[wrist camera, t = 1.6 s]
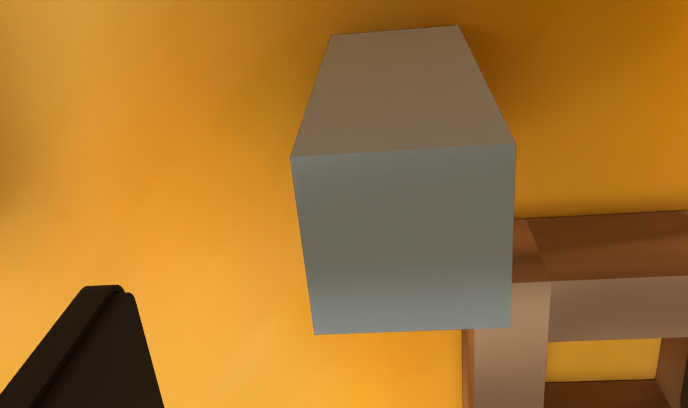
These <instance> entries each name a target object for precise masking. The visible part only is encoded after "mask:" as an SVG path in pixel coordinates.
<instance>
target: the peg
mask: <svg viewBox="0 0 688 408" xmlns="http://www.w3.org/2000/svg"><path fill="white" fill-rule="evenodd" d="M515 160H516V142H515V140H514V138H513V136H512V134H511V132H510V130H509V128H508V126H507V124H506V122H505V120H504V118H503V116H502V113H501V111H500V109H499V107H498V105H497V103H496V101H495V99H494V97H493V95H492V93H491V91H490V89H489V87H488V85H487V83H486V81H485V79H484V77H483V75H482V73H481V71H480V68H479V66H478V64H477V62H476V60H475V58H474V56H473V54H472V52H471V50H470V48H469V46H468V44H467V42H466V40H465V38H464V36H463V34H462V32H461V30H460V28H459V26H458V25H453V26H440V27H428V28H415V29H403V30H390V31H377V32H365V33H352V34H340V35H331V37H330V40H329V43H328V46H327V49H326V52H325V55H324V58H323V61H322V64H321V67H320V70H319V73H318V76H317V79H316V82H315V84H314V87H313V90H312V93H311V96H310V99H309V102H308V105H307V108H306V111H305V114H304V117H303V120H302V123H301V126H300V129H299V132H298V135H297V138H296V141H295V144H294V147H293V150H292V153H291V156H290V162H291V169H292V176H293V183H294V190H295V198H296V205H297V212H298V219H299V227H300V234H301V241H302V248H303V255H304V263H305V270H306V277H307V284H308V292H309V299H310V306H311V313H312V320H313V328H314V335H322V334H349V333H376V332H403V331H430V330H457V329H485V328H510V322H511V290H512V257H513V225H514V192H515Z"/></svg>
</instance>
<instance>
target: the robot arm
mask: <svg viewBox="0 0 688 408" xmlns="http://www.w3.org/2000/svg"><path fill="white" fill-rule="evenodd" d="M680 404H681V408H688V355H687V361H686V367H685V373H684V379H683V385H682V391H681V398H680ZM0 408H164V405H163V401H162V398H161V394H160V390H159V386H158V383H157V379H156V375H155V371H154V368H153V364H152V360H151V357H150V353H149V349H148V345H147V342H146V338H145V334H144V331H143V327H142V323H141V319H140V316H139V312H138V308H137V304H136V301H135V298H134V296H133V295H132V294H131V293H125V291H124V290H123V288H122V287H121V286H119V285H101V286H86V287H84V288H83V289H81V290H80V292H79V293H78V294H77V296H76V297H75V298H74V300H73V301H72V302H71V303H70V305H69V306H68V307H67V309H66V310H65V311H64V312H63V314H62V315H61V316H60V318H59V319H58V320H57V322H56V323H55V324H54V325H53V327H52V328H51V329H50V331H49V332H48V333H47V334H46V336H45V337H44V338H43V340H42V341H41V342H40V344H39V345H38V346H37V347H36V349H35V350H34V351H33V353H32V354H31V355H30V356H29V358H28V359H27V360H26V362H25V363H24V364H23V366H22V367H21V368H20V369H19V371H18V372H17V373H16V375H15V376H14V377H13V378H12V380H11V381H10V382H9V384H8V385H7V386H6V388H5V389H4V390H3V391H2V393H1V394H0Z"/></svg>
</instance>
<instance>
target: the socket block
mask: <svg viewBox="0 0 688 408" xmlns="http://www.w3.org/2000/svg"><path fill="white" fill-rule="evenodd" d="M647 338H662V344H661V350H660V356H659V362H658V368H657V374H656V380H632V381H598V382H564V383H545V374H546V358H547V343H548V342H562V341H590V340H618V339H647ZM687 355H688V210H684V211H665V212H646V213H627V214H608V215H589V216H570V217H551V218H531V219H514V225H513V257H512V290H511V322H510V328H485V329H462V401H463V408H681V404H680V398H681V391H682V385H683V379H684V373H685V367H686V361H687Z"/></svg>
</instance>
